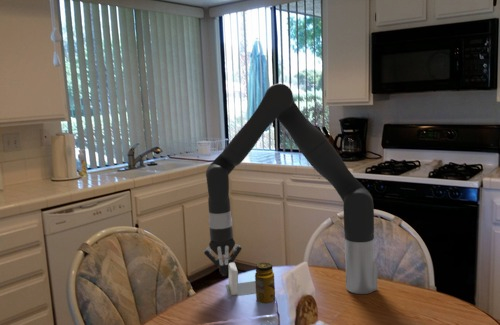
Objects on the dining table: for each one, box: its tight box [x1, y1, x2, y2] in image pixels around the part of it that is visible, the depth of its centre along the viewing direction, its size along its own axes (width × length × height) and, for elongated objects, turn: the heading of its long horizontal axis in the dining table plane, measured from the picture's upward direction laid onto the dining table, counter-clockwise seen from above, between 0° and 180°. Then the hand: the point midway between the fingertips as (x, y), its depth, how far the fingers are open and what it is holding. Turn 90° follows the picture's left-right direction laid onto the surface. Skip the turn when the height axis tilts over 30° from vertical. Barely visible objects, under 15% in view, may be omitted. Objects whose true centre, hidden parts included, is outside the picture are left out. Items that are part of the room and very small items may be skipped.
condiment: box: [254, 262, 276, 304], centre depth 146 cm, size 7×8×12 cm
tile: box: [228, 262, 239, 295], centre depth 155 cm, size 2×8×8 cm, turn 9°
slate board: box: [225, 280, 256, 298], centre depth 156 cm, size 13×10×1 cm
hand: (224, 274), depth 154 cm, fingers closed
